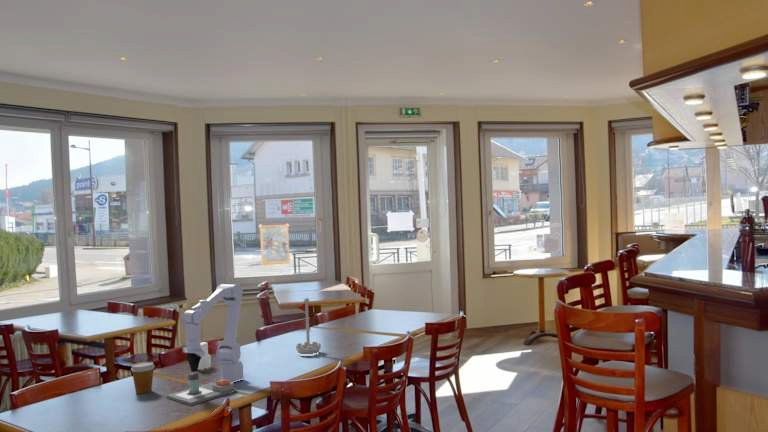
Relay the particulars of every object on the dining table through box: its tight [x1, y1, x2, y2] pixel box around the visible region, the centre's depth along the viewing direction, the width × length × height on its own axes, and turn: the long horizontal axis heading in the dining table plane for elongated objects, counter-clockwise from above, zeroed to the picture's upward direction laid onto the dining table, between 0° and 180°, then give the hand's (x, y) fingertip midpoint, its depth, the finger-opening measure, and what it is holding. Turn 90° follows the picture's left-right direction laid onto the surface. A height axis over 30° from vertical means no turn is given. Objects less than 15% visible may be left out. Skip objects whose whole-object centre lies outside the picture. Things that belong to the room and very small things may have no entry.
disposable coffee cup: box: [130, 361, 155, 395], centre depth 254 cm, size 10×10×12 cm
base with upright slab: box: [198, 341, 212, 369], centre depth 290 cm, size 9×9×12 cm
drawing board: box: [166, 381, 238, 407], centre depth 246 cm, size 22×18×3 cm
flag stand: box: [295, 297, 322, 354], centre depth 311 cm, size 13×13×30 cm
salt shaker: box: [187, 372, 200, 394], centre depth 245 cm, size 4×4×8 cm
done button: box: [215, 379, 230, 387], centre depth 249 cm, size 4×4×3 cm
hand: (194, 371), depth 245 cm, fingers closed
